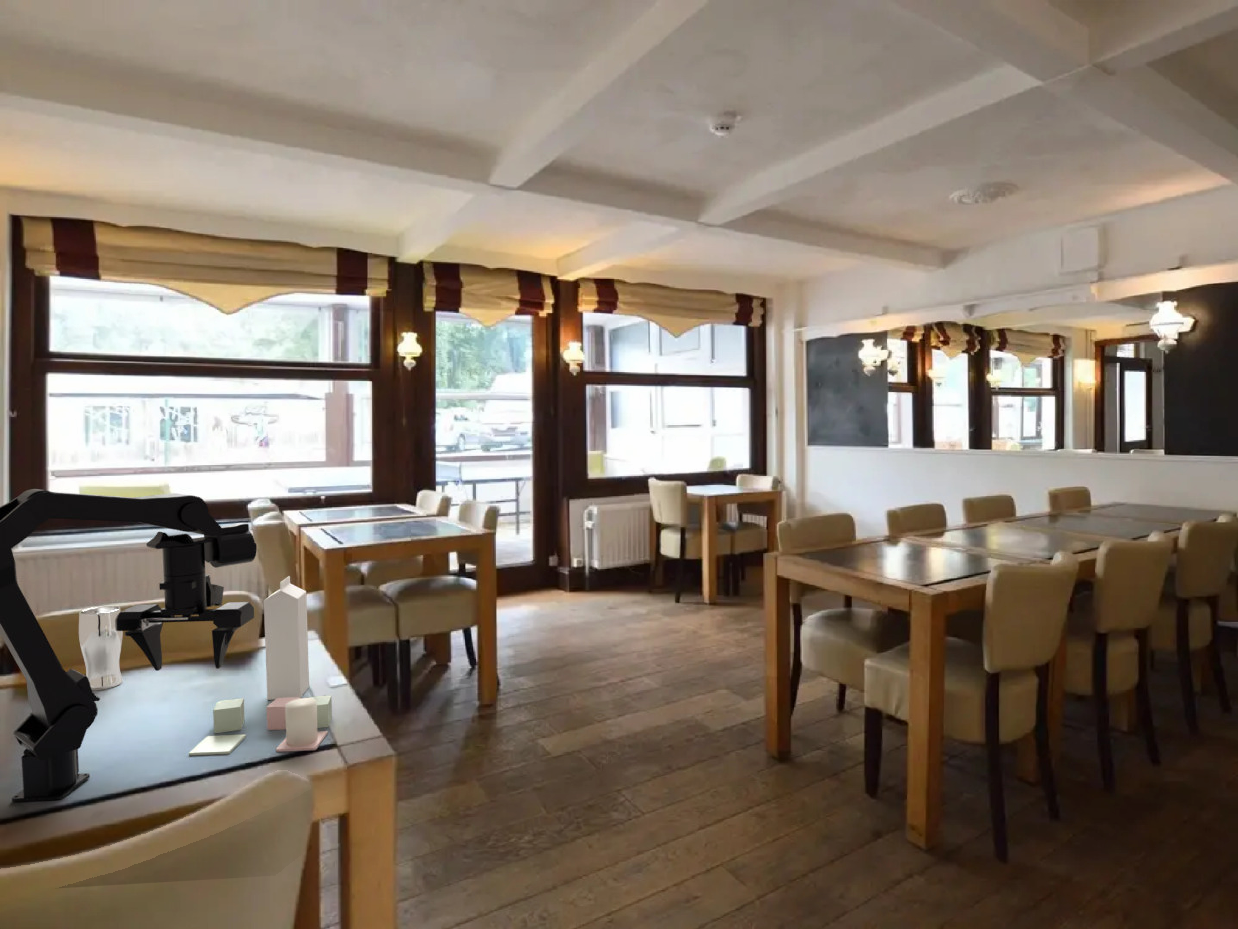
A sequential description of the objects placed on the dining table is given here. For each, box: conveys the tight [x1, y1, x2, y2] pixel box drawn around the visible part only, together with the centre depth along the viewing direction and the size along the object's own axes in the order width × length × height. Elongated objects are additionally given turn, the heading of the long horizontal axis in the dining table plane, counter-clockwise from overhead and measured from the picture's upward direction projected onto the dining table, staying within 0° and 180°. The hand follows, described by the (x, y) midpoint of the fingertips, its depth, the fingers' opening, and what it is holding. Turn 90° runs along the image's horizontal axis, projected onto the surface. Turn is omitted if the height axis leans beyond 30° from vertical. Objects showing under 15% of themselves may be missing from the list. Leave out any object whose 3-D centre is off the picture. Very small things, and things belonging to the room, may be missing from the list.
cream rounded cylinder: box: [285, 697, 318, 746], centre depth 115 cm, size 5×5×6 cm
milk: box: [263, 575, 310, 701], centre depth 136 cm, size 6×6×22 cm
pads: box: [188, 730, 329, 756], centre depth 115 cm, size 6×19×1 cm, turn 95°
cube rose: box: [266, 697, 302, 731], centre depth 122 cm, size 4×4×4 cm
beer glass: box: [78, 605, 124, 692], centre depth 141 cm, size 7×7×15 cm
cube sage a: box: [306, 695, 333, 729], centre depth 123 cm, size 4×4×4 cm
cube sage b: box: [212, 697, 245, 734], centre depth 121 cm, size 4×4×4 cm
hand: (188, 668), depth 115 cm, fingers open, 9 cm apart
